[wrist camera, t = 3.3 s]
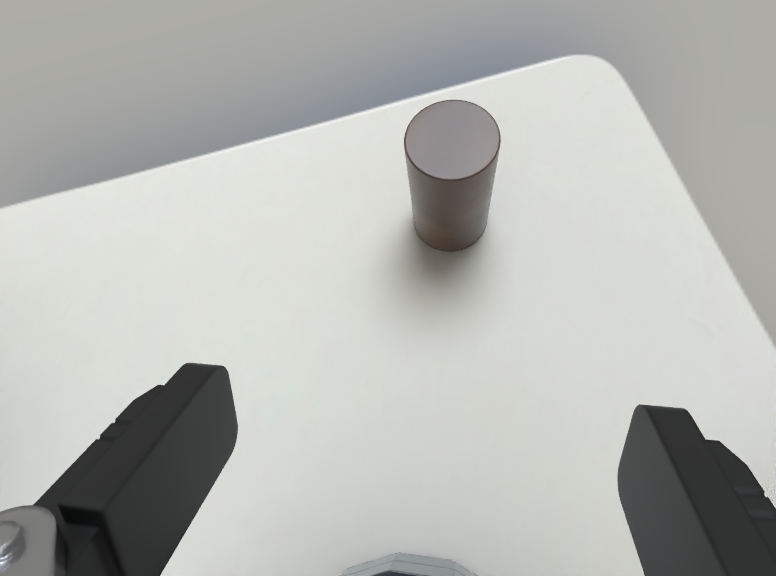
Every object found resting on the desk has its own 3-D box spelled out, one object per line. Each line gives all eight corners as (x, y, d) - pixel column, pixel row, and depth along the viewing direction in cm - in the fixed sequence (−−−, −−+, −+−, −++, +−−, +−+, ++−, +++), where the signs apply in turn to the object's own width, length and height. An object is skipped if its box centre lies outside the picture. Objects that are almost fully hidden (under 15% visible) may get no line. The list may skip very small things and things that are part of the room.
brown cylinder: (488, 188, 30) (502, 99, 23) (485, 253, 29) (499, 182, 21) (417, 185, 31) (408, 98, 23) (411, 249, 30) (399, 178, 22)
